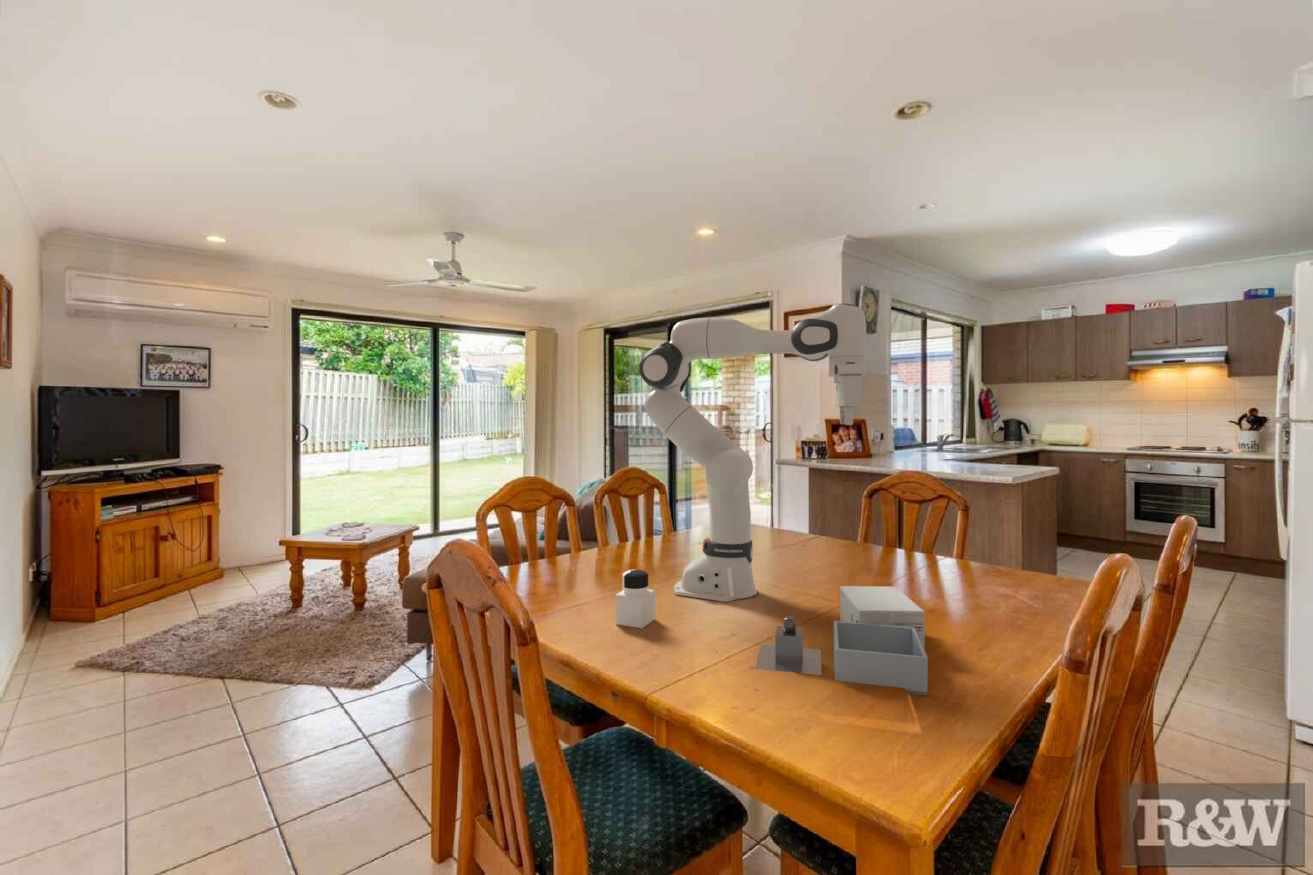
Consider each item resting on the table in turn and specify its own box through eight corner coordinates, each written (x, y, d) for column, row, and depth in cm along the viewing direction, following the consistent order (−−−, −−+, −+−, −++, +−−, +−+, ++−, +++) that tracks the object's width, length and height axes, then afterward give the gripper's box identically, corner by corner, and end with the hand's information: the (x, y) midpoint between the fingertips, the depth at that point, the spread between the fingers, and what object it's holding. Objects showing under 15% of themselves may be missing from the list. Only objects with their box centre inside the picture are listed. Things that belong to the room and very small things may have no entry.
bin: (835, 685, 108) (835, 649, 108) (833, 653, 122) (833, 620, 122) (927, 695, 104) (927, 658, 104) (914, 660, 118) (914, 627, 118)
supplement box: (838, 625, 139) (838, 585, 138) (897, 626, 138) (897, 585, 138) (858, 655, 122) (859, 609, 122) (925, 656, 121) (926, 610, 121)
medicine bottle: (655, 619, 143) (655, 569, 143) (642, 629, 137) (642, 577, 136) (629, 615, 146) (628, 566, 146) (615, 624, 140) (614, 573, 139)
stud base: (755, 673, 113) (755, 650, 113) (761, 649, 125) (761, 628, 125) (821, 680, 110) (821, 656, 110) (821, 654, 122) (821, 633, 121)
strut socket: (775, 662, 116) (775, 621, 115) (777, 652, 120) (777, 613, 120) (802, 665, 114) (802, 623, 114) (803, 655, 119) (803, 615, 119)
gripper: (829, 372, 162) (829, 423, 162) (838, 366, 142) (838, 425, 142) (854, 371, 161) (853, 423, 161) (866, 366, 141) (865, 425, 141)
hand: (846, 424), depth 152 cm, fingers open, 8 cm apart
